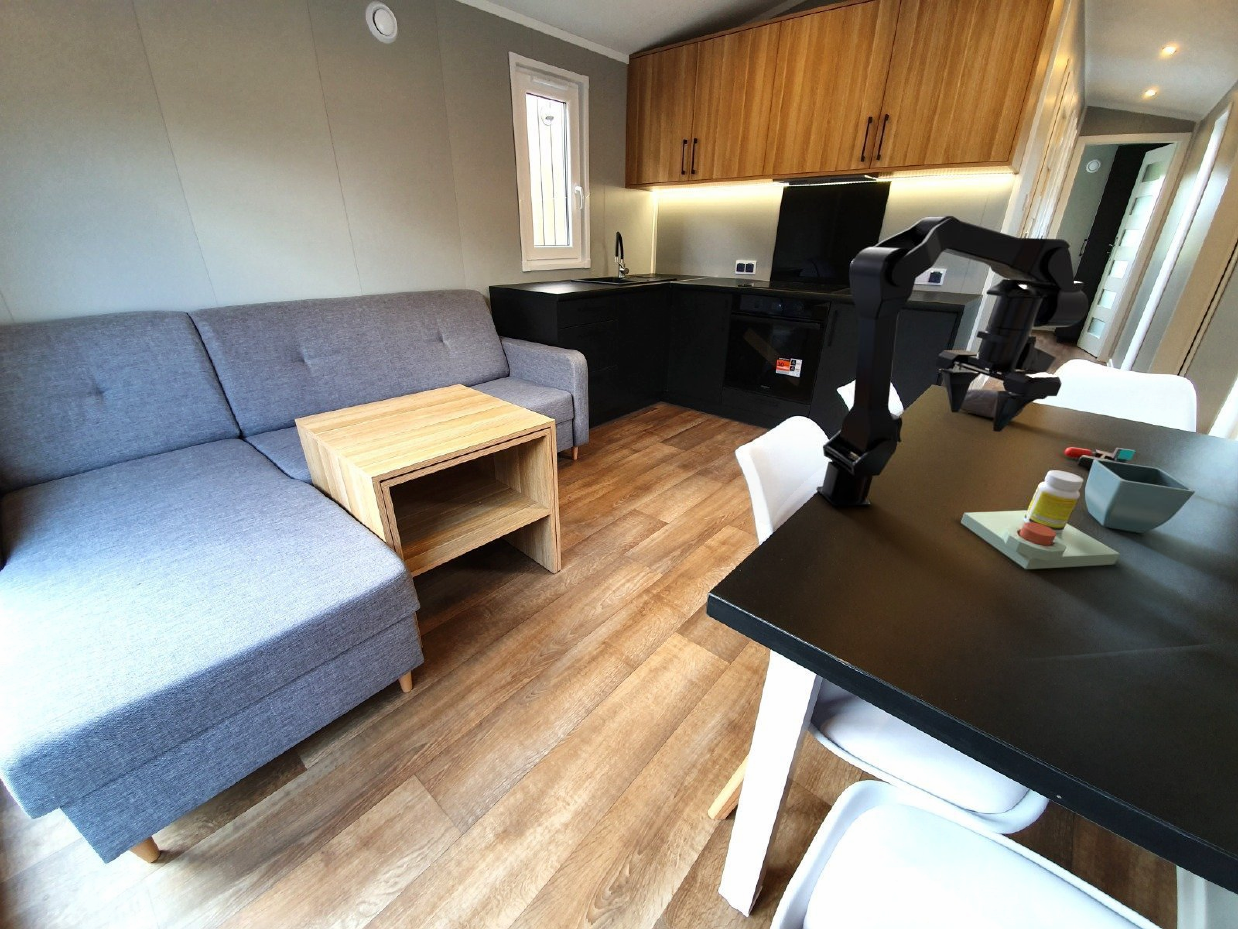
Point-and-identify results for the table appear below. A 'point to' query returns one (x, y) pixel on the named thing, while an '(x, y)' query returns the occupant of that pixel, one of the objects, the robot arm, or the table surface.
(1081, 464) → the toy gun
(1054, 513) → the supplement bottle
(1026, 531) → the button
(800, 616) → the table surface
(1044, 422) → the table surface
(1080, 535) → the kitchen scale
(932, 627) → the table surface
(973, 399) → the perforated stone tool
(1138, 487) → the flower pot
